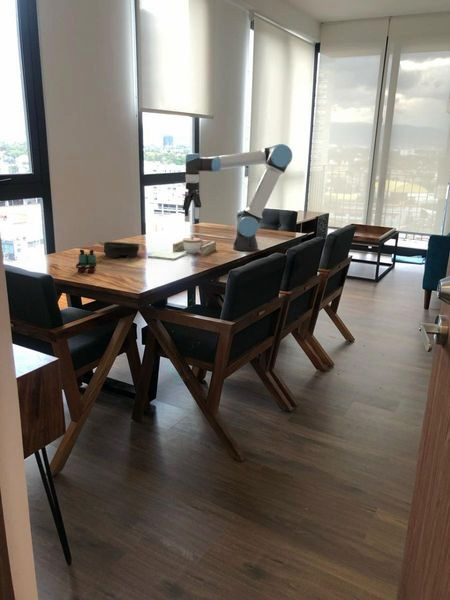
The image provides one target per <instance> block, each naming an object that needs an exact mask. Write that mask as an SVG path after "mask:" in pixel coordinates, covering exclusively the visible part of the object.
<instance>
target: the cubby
mask: <svg viewBox="0 0 450 600" xmlns="http://www.w3.org/2000/svg"><path fill="white" fill-rule="evenodd" d="M216 244H217V241H214V240H205V239H201V248H200V256H201V257H202V256H206V255H208V254H210V253H212V252H214V251H216V250H217V249H216V246H217V245H216ZM183 250H185V249H184V246H183V239H182V240H179V241H178V242H175V243H172V252H182V251H183Z"/></svg>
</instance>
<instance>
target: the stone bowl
mask: <svg viewBox="0 0 450 600" xmlns="http://www.w3.org/2000/svg"><path fill="white" fill-rule="evenodd" d="M98 243H99V245H101V246H103V252H104V254H105V255H104V256H105V257H106V258H108V257H109V259H114V258H116V259H117V258H121V256H125V257H126V258H129V259H130V258H134V257H137V255H138V253H139V250H140V248H141V247H144V246H145V244H144V243H139V242H131V241H130V242H127V241H102V242H100V241H98Z"/></svg>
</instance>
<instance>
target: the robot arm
mask: <svg viewBox="0 0 450 600" xmlns="http://www.w3.org/2000/svg"><path fill="white" fill-rule="evenodd" d="M292 160H293V152H292V150H291V148H290V147H289V146H287V144H284V143H281V144H276V145H273V146H269V147H265V148H262V149H261V150H255V151H247V152H240V153H233V154H232V153H231V154H225V155H218V156H208V157H201V156H200V154H199V153H187V154H185V175H184V177H185V190H187V191H185V194H184V200H183V206H182V210H184V222H187V223H190V222H191V218H190V217H191V216H190V215H191V214H190V213H191V211H190V210H191V209H190V207H191V203H192V202H193V205H194V219H195V220H199V219H200V208H202V202H201V197H200V183H199V182H200V172H209V173H210V172H211V173H212V172H213V173H220V172H221V170H226V169H233V168H243V167H249V166H256V165H257V166H258V165H264V166H265V167H266V168H265V171H264V173H263V174H262V176H261V179H260V181H259V183H258V185H257V187H256V189H255V192H254V193H253V196H252V198H251V200H250V202H249V205H248V207H246V208H244V209H243V210H238V211H237V212H236V235H235V240H234V242H233V245H232V248H233V250H235V251H240V252H253V251H255V252H256V251H257V249H258V250H259V245H258V241H257V237H256V234H257V232H258V231H259V229H260V224H261V222H262V220H263V212H264V210H265V208H266V205H267V204H268V202H269V199H270V197H271V196H272V193H273V190H274V189H275V187H276V185H277V183H278V181H279V178H280V176H281V175H283V174H284V173H285V172H286V170H287V168H288V166H289V165H290V163H291V162H292Z"/></svg>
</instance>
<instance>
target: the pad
mask: <svg viewBox="0 0 450 600" xmlns="http://www.w3.org/2000/svg"><path fill="white" fill-rule="evenodd" d="M184 256H187V252H182V251H178V252H173V251H170V250H159V251H157V252H153V253H151V254H148V255H147V258H151V259H159V260H168V261H176V260H178V259H180V258H183V257H184Z"/></svg>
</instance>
